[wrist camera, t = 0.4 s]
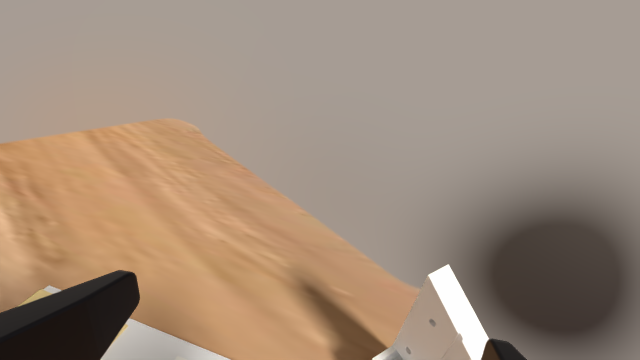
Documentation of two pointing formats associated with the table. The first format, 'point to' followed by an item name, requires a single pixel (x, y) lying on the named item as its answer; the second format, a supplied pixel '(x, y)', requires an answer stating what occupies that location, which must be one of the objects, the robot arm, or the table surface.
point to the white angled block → (439, 324)
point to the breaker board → (144, 341)
